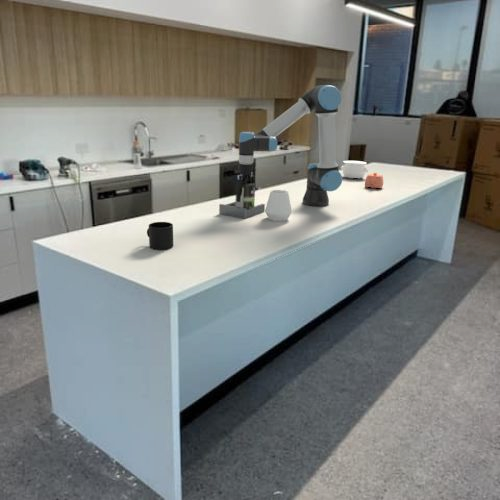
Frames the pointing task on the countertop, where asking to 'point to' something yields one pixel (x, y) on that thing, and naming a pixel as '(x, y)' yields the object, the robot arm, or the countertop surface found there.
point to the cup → (278, 205)
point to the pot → (354, 169)
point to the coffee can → (247, 195)
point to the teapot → (374, 181)
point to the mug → (160, 235)
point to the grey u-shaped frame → (240, 210)
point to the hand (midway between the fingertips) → (244, 205)
